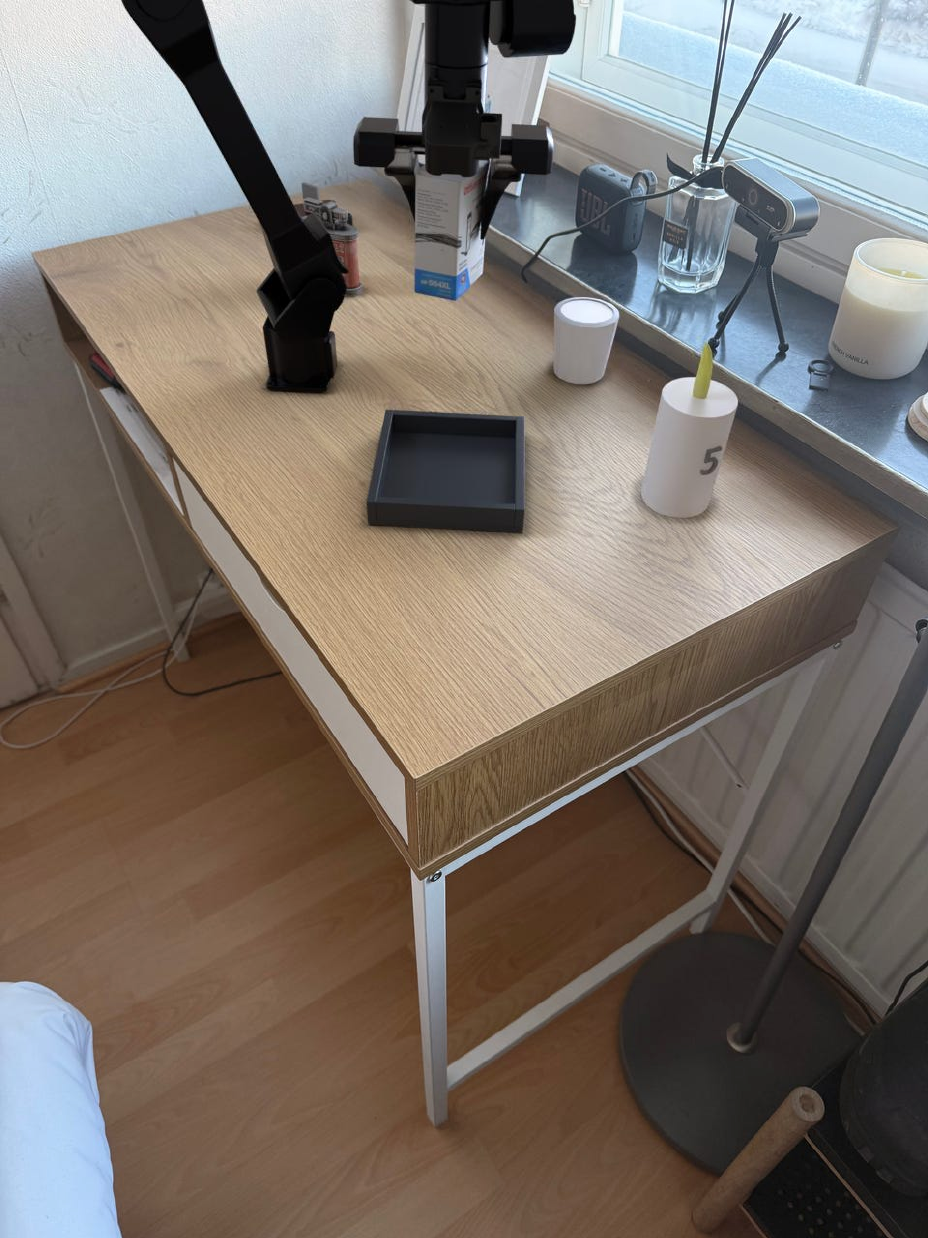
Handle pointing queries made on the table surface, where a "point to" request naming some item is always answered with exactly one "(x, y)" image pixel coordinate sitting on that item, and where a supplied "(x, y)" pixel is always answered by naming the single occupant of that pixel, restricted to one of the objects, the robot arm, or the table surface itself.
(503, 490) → the tray
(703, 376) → the candle
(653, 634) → the table surface
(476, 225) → the ink box
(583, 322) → the white cylinder
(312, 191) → the toy gun
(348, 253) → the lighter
